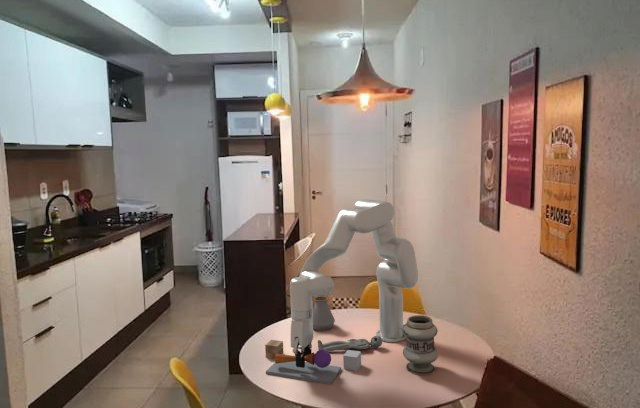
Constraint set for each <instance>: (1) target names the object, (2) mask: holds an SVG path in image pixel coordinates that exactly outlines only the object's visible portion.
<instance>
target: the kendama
mask: <svg viewBox="0 0 640 408" xmlns="http://www.w3.org/2000/svg"><path fill="white" fill-rule="evenodd" d="M294 361H296V356H295V355H292V354H291V355H290V354H284V353H283V354H276V355H275V359H274V363H276V364H277V363H285V362H294ZM331 361H332V356H331V353H330V352H328V351H326V350H319V349H318V350H317V351H316V352H312V353H311V354H309V355H307V356H305V362H308V363H310V364H312V365H314V364H316V365H317V366H318V367H320V368H325V367H327V366H328V365H330V364H331V363H332V362H331Z"/></svg>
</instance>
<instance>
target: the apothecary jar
mask: <svg viewBox="0 0 640 408" xmlns="http://www.w3.org/2000/svg"><path fill="white" fill-rule="evenodd" d="M406 320H407V321H406V323H405V324H403V325H404V326H403V333H404V334H405V335H406V339H405V341H406V344H405V346H404V348H403V349H402V355H403V357H404V358H405V359H406V360H407V361H408V363H407V364H406V366H405V367H406V370H407V371H408V372H411V373H412V374H414V375H417V376H427V375H428V376H429V375H431V374H433V373H435V372H436V367H435V366H434V364H432V363H434V362H435V361H437V359H438V357H439V351H438V349H437V347H435V337H436V336H437V335H438V328H437V326H436V325H435V324H434V323H433V319H432V318H431V317H430V316H428V315H422V314H417V315H410V316H408V318H407V319H406Z"/></svg>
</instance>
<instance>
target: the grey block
mask: <svg viewBox="0 0 640 408" xmlns="http://www.w3.org/2000/svg"><path fill="white" fill-rule="evenodd" d="M342 360H343V361H342V362H343V370H350V371H357V372H358V371H359V369H360V367H361V366H362V352H361V351H359V350H353V349H346V352H345V353H344V354H343V359H342Z"/></svg>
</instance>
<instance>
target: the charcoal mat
mask: <svg viewBox="0 0 640 408" xmlns="http://www.w3.org/2000/svg"><path fill="white" fill-rule="evenodd" d="M341 371H342V367H341V366H337V365H330V364H329V365H328V366H327V367H325V368H320V367H318V366H317V365H316V364H314V365H312V364H310V363H308V362H306V361H305V367H304V368H301V367H296V361H294V362H285V363H277V364H276V363H275V362H274V363H273V364H272V365H271V366H270V367H268V368H267V370H265V375H270V376H271V375H272V376H276V377H277V376H278V377H284V378H287V379H288V378H289V379H296V380H301V381H308V382H313V383H319V384H324V385H325V384H326V385H332V384H333V382H334V380H335V379H336V377H338V375H339V374H340V372H341Z"/></svg>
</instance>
